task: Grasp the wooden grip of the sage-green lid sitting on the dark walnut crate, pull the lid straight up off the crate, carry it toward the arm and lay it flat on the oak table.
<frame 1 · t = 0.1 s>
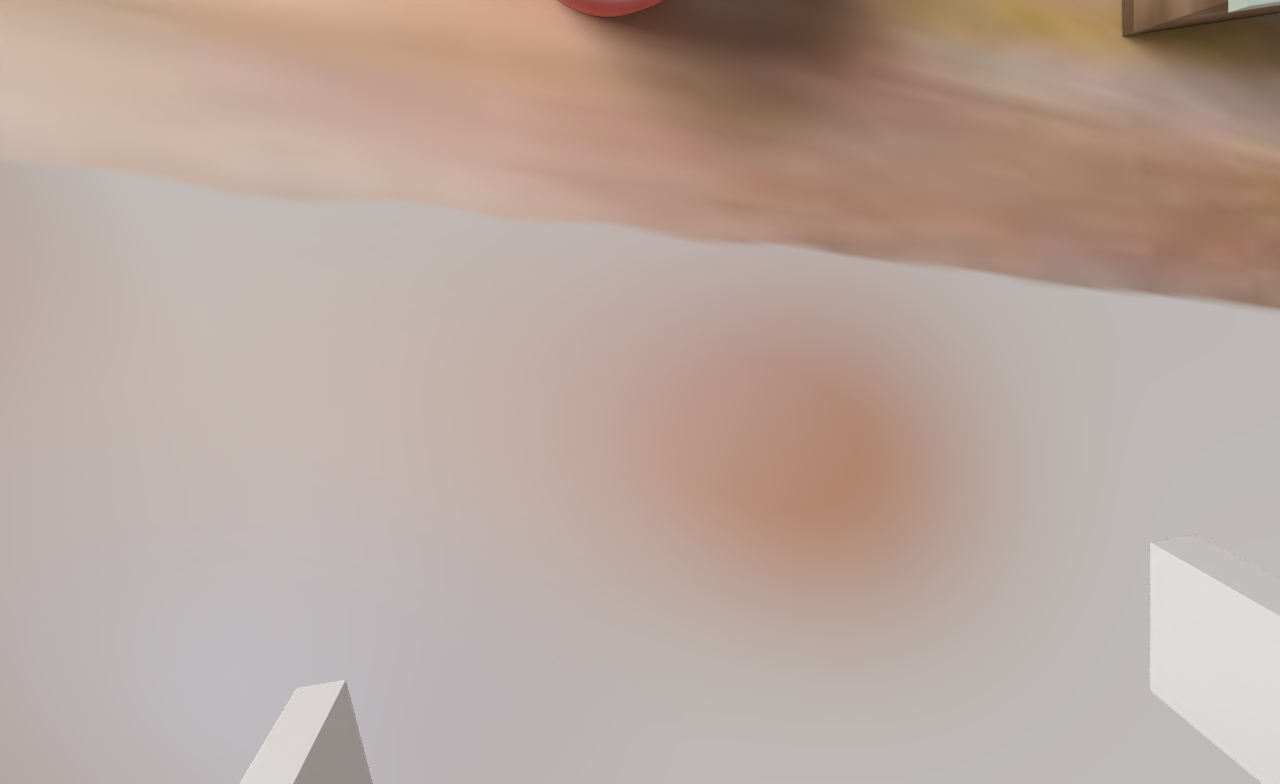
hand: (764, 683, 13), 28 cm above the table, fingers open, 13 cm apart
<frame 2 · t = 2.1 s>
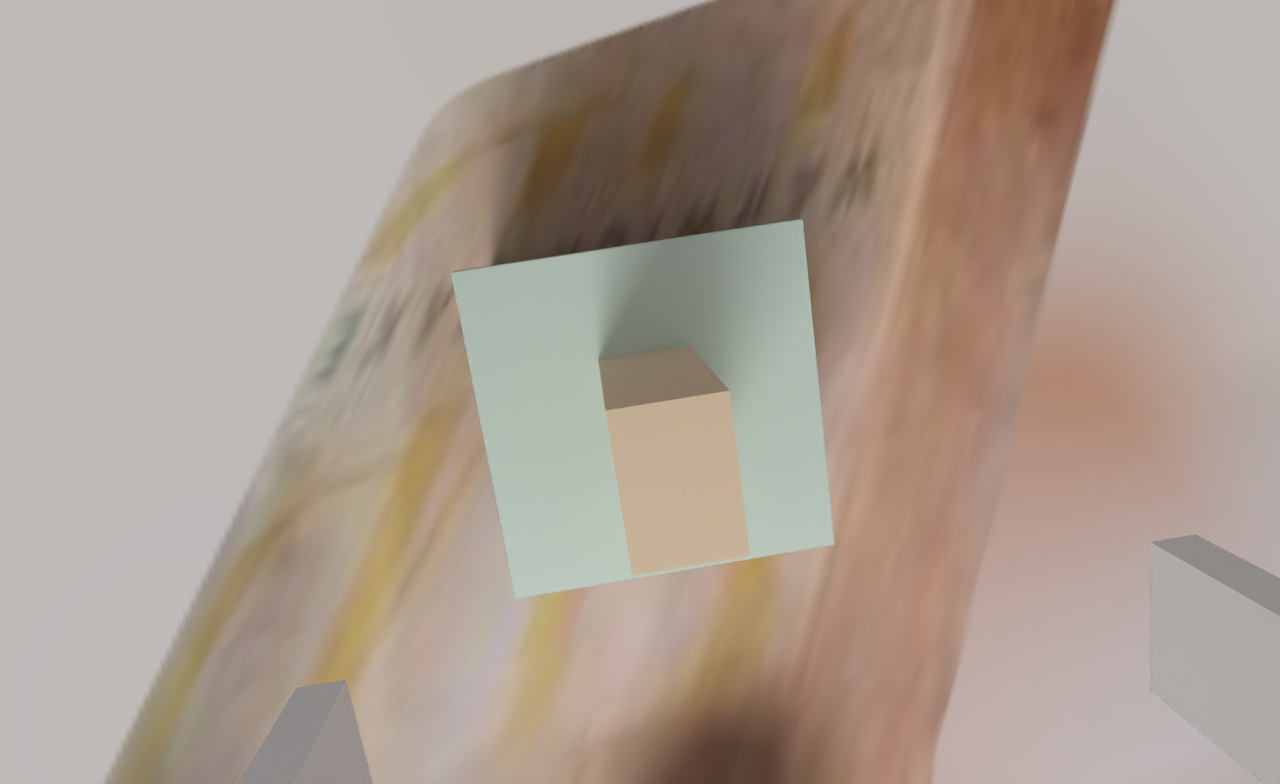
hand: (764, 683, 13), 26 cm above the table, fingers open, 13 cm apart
lid: (651, 410, 31), point 7 cm above the table, touching crate
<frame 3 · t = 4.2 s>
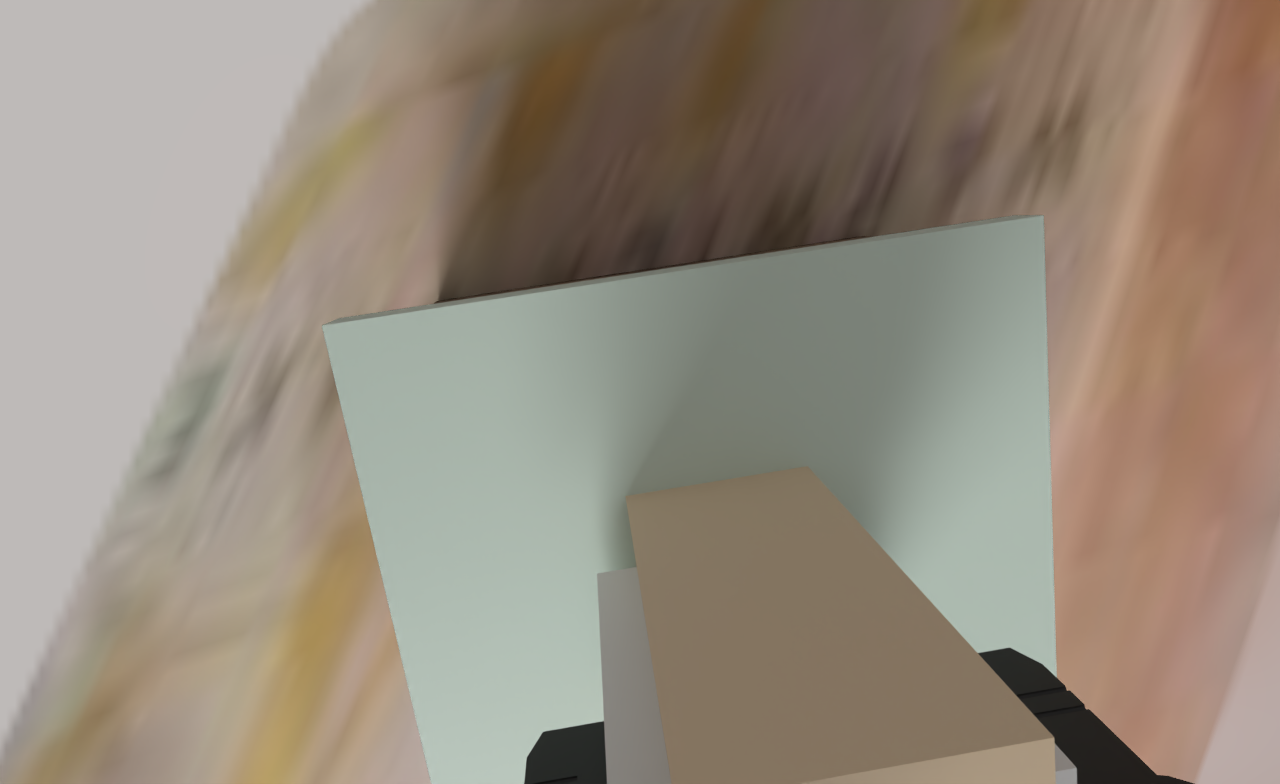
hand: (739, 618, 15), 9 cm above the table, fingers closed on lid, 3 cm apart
crate: (681, 471, 23), on the table
lid: (723, 577, 16), point 7 cm above the table, touching crate, gripper
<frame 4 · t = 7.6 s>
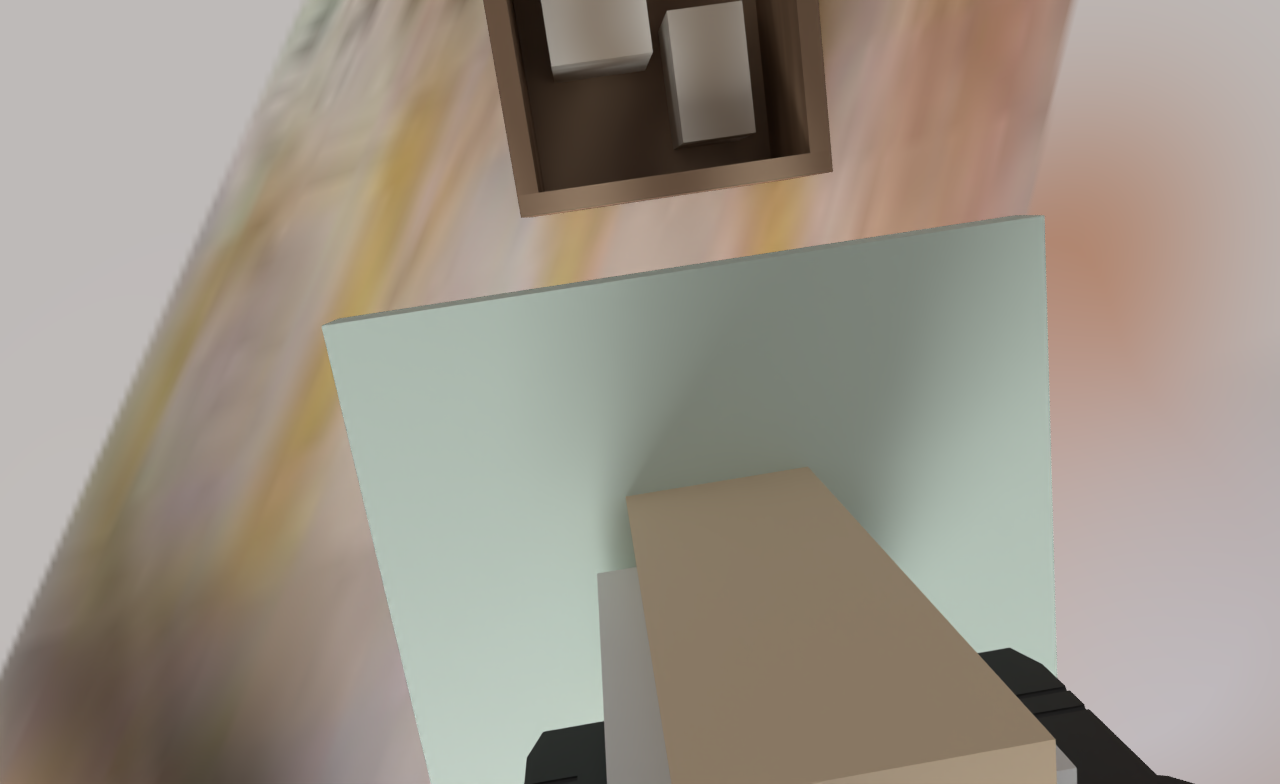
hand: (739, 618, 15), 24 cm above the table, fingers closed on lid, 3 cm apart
crate: (641, 61, 35), on the table
lid: (723, 578, 16), point 23 cm above the table, touching gripper
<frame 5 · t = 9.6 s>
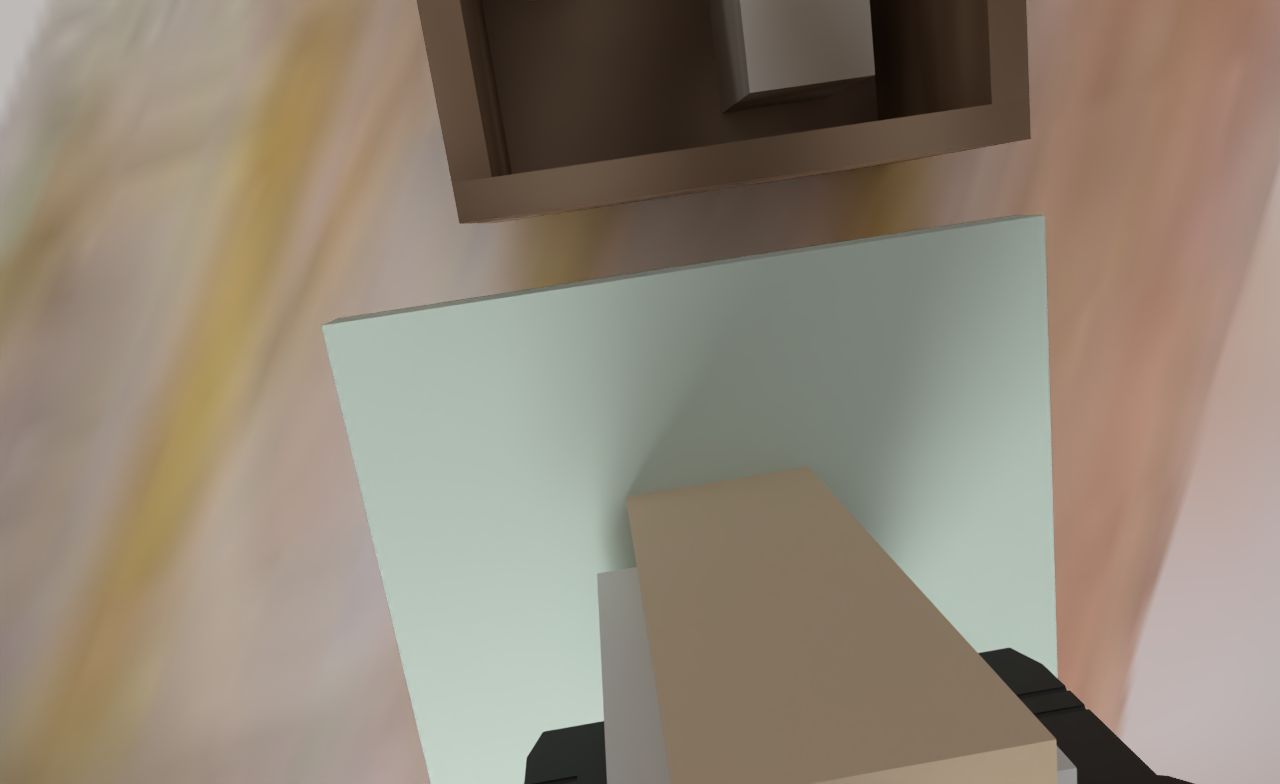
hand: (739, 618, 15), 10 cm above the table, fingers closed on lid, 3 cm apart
lid: (723, 578, 16), point 9 cm above the table, touching gripper
when the fingers open (4 cm above the table, at t = 11.3 s): lid drops 2 cm, point 1 cm above the table.
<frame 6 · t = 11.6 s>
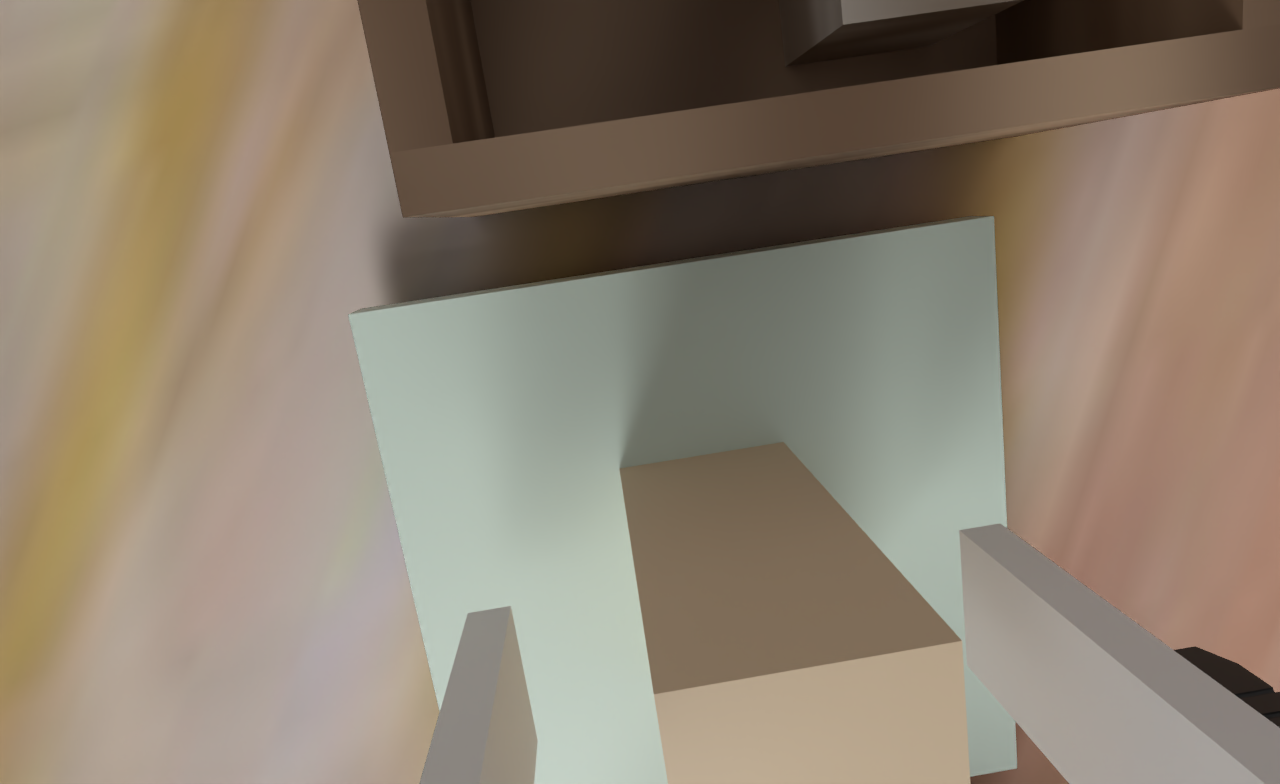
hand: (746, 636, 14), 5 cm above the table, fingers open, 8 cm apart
lid: (708, 545, 18), point 1 cm above the table
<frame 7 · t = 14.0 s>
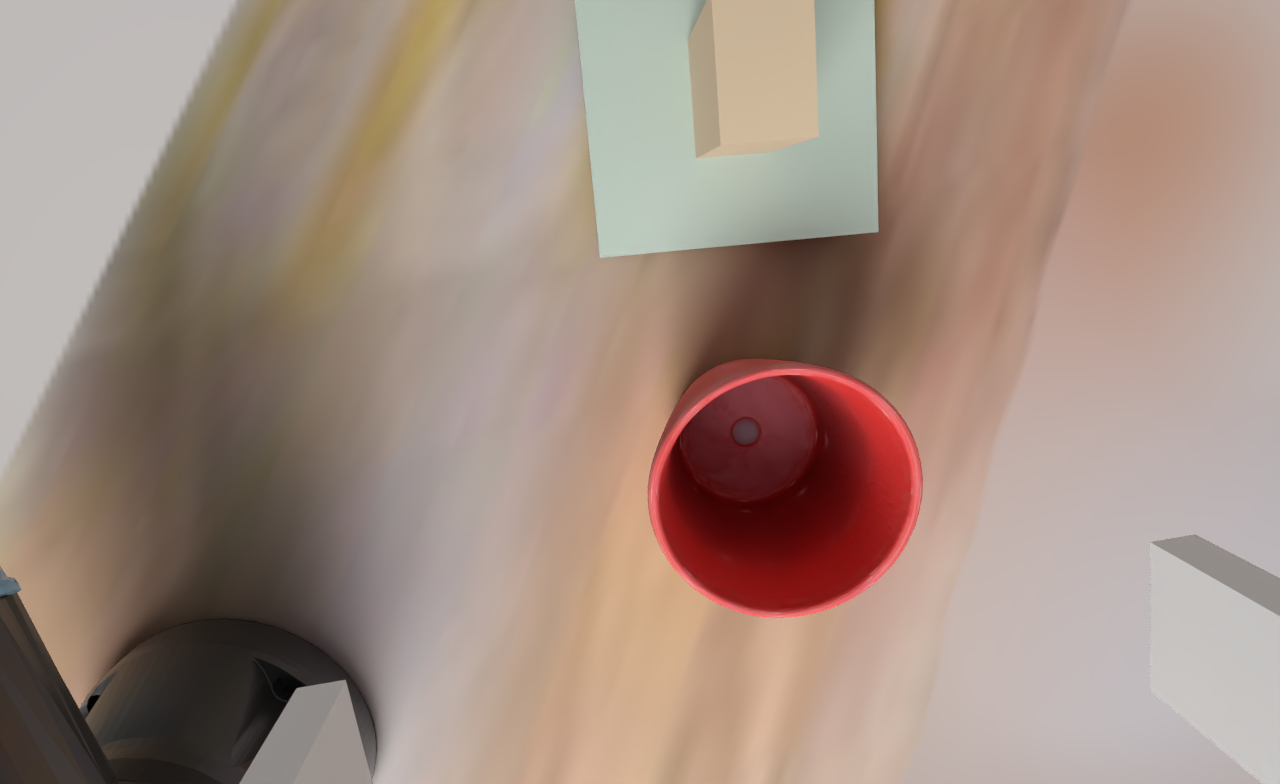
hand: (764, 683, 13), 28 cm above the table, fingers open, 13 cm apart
flower pot: (744, 428, 41), on the table
lid: (727, 99, 36), point 1 cm above the table
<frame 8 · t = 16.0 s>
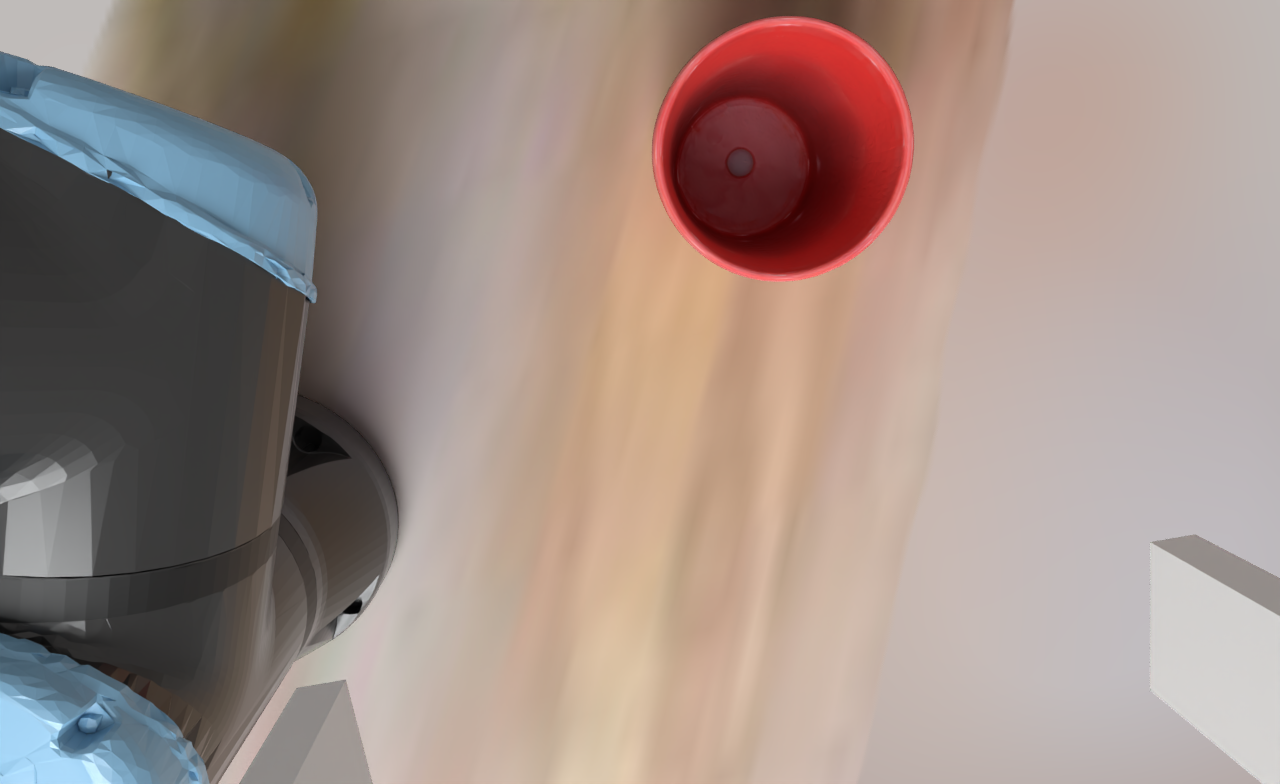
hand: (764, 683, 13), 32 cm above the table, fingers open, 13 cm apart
flower pot: (738, 166, 42), on the table
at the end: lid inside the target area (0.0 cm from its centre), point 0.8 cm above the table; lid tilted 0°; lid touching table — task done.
